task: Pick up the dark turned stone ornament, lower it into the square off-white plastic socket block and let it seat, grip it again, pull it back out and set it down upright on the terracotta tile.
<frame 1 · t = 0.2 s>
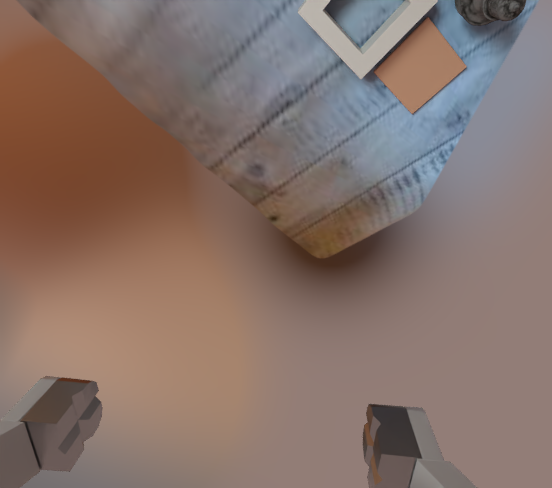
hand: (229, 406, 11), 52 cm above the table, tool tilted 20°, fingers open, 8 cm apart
terracotta tile: (418, 68, 51), on the table
socket block: (363, 2, 46), on the table
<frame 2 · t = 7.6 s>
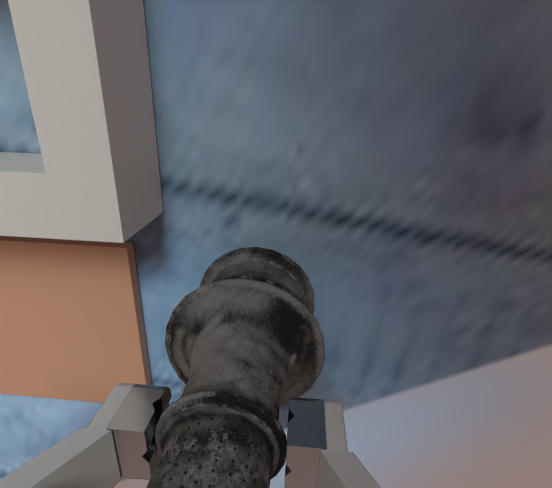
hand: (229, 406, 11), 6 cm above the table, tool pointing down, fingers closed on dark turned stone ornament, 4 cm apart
terracotta tile: (56, 321, 18), on the table
dark turned stone ornament: (256, 298, 16), on the table, touching gripper
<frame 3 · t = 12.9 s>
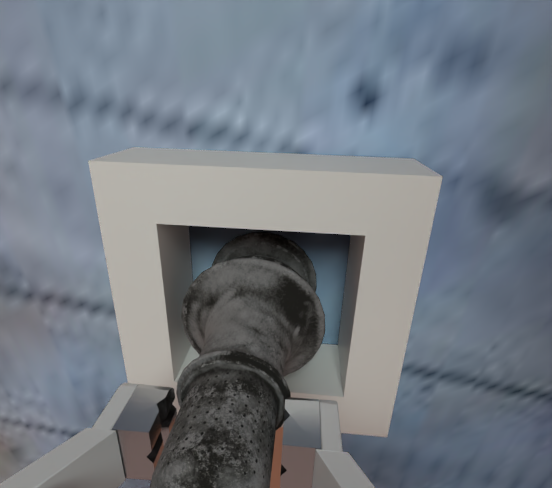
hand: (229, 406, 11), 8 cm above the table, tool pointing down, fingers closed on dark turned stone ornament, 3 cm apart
terracotta tile: (264, 445, 22), on the table
socket block: (267, 276, 17), on the table
dark turned stone ornament: (263, 279, 18), resting in socket block, touching gripper
when the fingers open (7 cm above the table, at t = 13.6 s): dark turned stone ornament stays where it is, resting in socket block.
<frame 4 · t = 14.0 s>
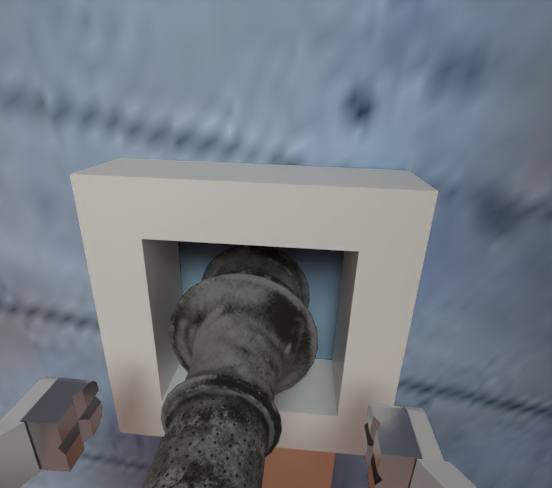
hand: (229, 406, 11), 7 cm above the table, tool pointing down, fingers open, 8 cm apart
terracotta tile: (257, 462, 22), on the table
socket block: (259, 290, 17), on the table
dark turned stone ornament: (255, 292, 17), resting in socket block
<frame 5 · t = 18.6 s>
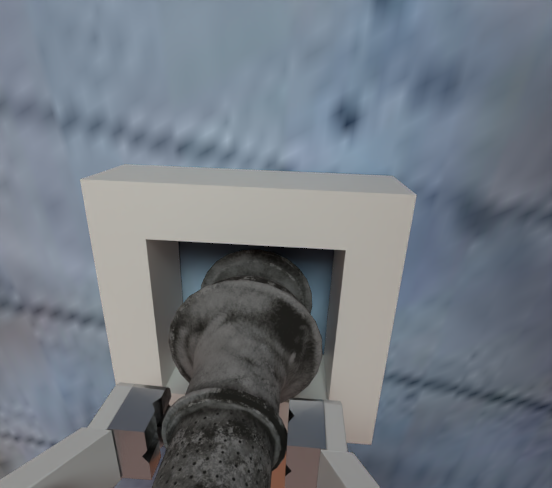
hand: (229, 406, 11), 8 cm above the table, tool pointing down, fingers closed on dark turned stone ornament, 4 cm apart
terracotta tile: (253, 455, 22), on the table
socket block: (254, 288, 18), on the table
dark turned stone ornament: (256, 298, 17), point 1 cm above the table, touching gripper
when the fingers open (12 cm above the table, at t = 23.2 s): dark turned stone ornament drops 4 cm, resting on terracotta tile.
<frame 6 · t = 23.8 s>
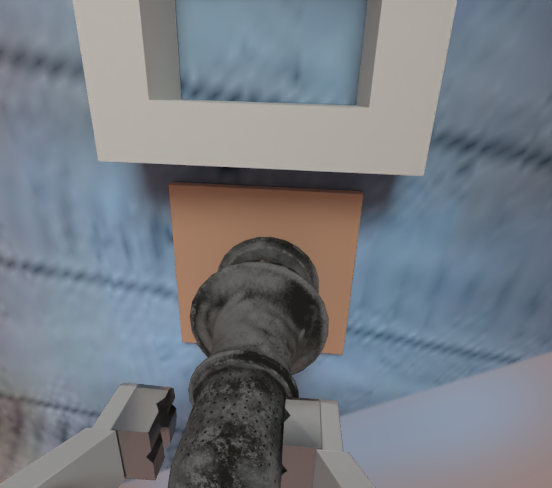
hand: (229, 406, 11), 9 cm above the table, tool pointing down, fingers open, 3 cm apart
terracotta tile: (264, 271, 18), on the table
dark turned stone ornament: (267, 282, 18), resting on terracotta tile, touching gripper
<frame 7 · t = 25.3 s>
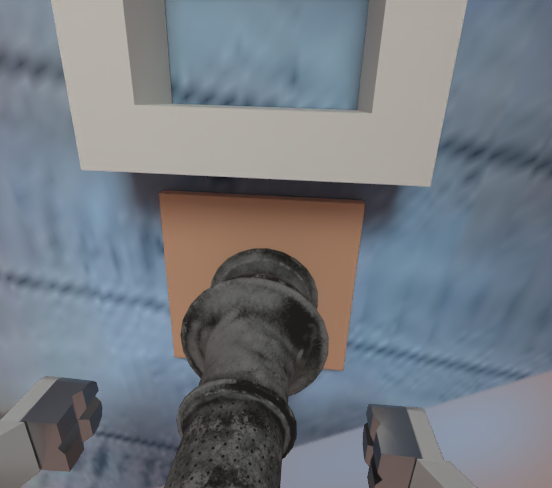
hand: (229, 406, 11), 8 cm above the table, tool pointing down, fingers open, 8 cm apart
terracotta tile: (260, 283, 18), on the table
dark turned stone ornament: (264, 295, 17), resting on terracotta tile
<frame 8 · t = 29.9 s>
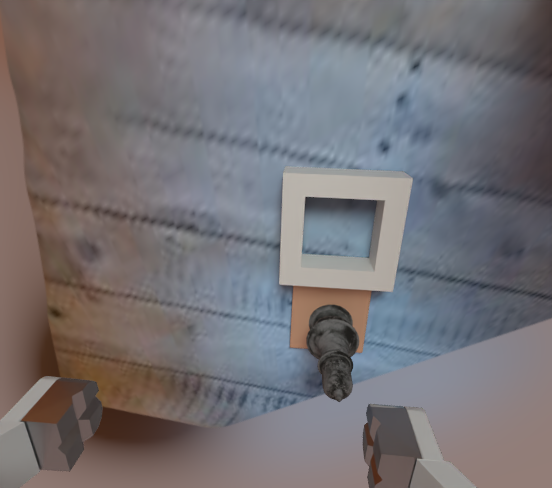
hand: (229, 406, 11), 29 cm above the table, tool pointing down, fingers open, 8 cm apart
terracotta tile: (328, 317, 43), on the table
socket block: (338, 224, 39), on the table
dark turned stone ornament: (330, 322, 43), resting on terracotta tile
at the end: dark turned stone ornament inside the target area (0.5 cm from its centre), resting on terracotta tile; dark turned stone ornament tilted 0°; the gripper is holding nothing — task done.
